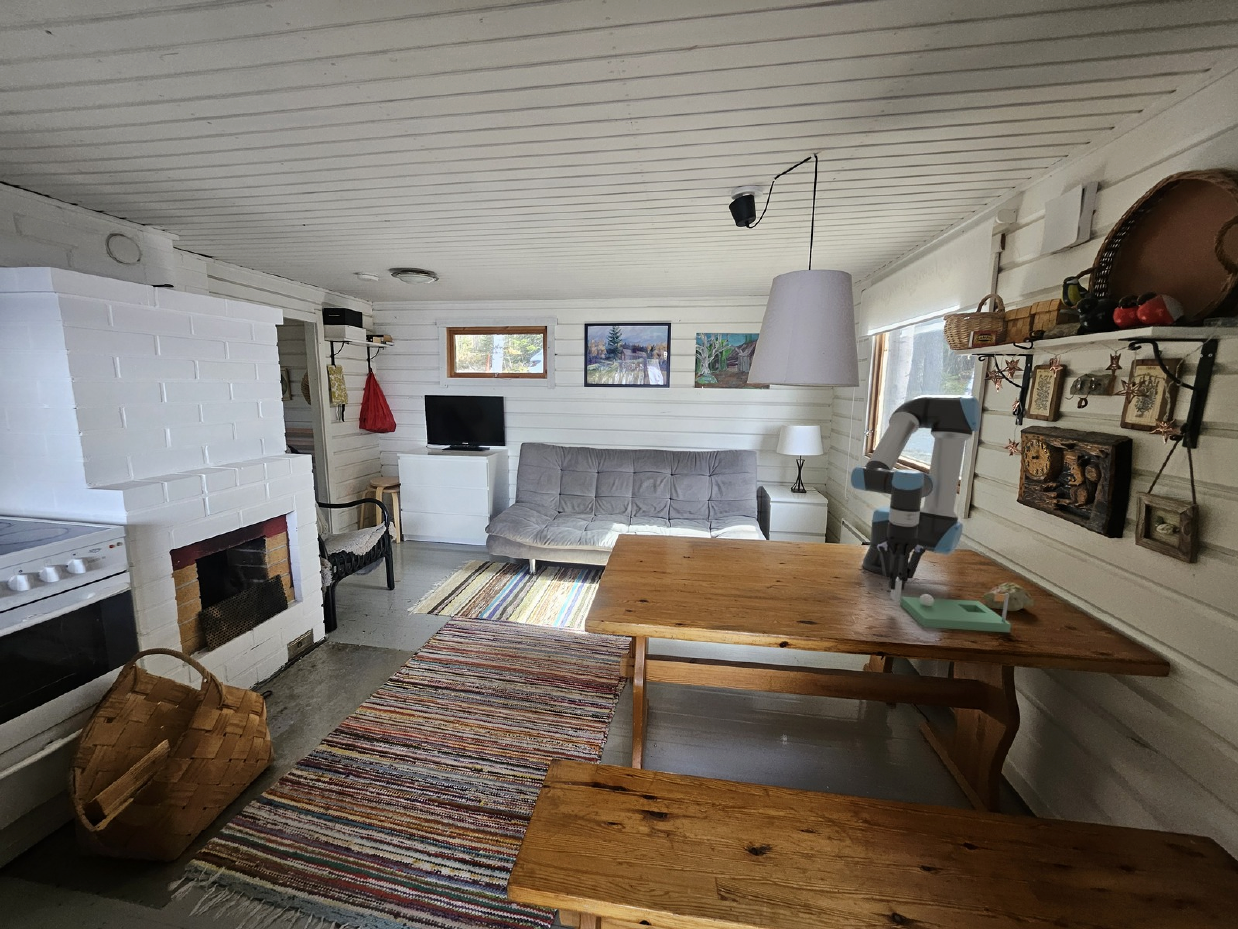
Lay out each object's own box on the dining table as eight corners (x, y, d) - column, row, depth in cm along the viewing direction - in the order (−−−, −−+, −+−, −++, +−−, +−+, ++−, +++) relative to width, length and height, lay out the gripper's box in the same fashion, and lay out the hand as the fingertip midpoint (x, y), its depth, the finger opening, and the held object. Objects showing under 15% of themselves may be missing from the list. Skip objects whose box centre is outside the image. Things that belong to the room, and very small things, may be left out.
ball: (916, 602, 139) (918, 591, 139) (929, 603, 139) (930, 592, 138) (922, 608, 136) (924, 596, 135) (935, 608, 135) (937, 597, 135)
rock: (994, 623, 142) (984, 597, 140) (981, 606, 150) (971, 581, 148) (1040, 613, 137) (1030, 586, 135) (1024, 596, 145) (1014, 570, 143)
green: (900, 604, 144) (903, 572, 142) (977, 608, 141) (981, 576, 139) (923, 626, 130) (927, 591, 128) (1009, 632, 127) (1015, 596, 125)
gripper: (884, 525, 131) (877, 603, 135) (934, 527, 130) (925, 606, 134) (874, 518, 139) (866, 592, 143) (920, 520, 137) (912, 595, 141)
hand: (895, 599), depth 138 cm, fingers closed
